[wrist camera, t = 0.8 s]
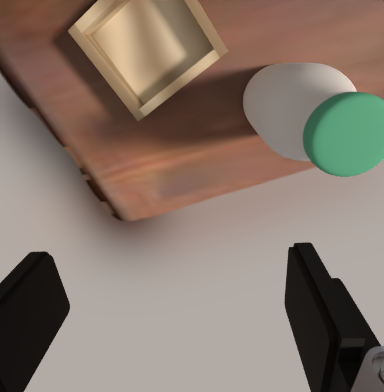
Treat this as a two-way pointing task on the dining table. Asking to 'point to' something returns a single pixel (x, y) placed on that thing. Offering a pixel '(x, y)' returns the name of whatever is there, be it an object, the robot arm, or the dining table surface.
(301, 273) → the robot arm
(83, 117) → the dining table surface
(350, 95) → the milk bottle
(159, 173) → the dining table surface
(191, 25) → the holder
